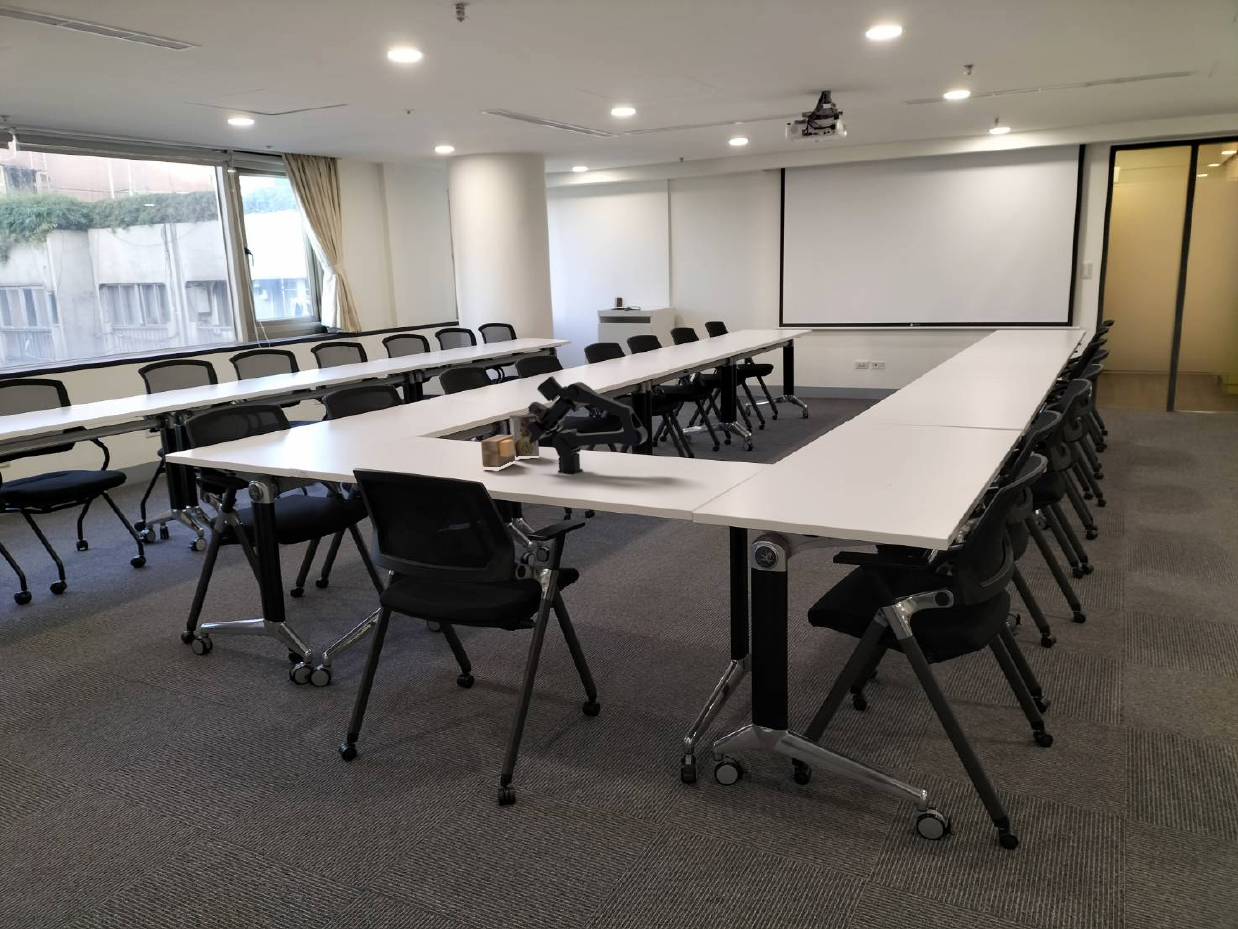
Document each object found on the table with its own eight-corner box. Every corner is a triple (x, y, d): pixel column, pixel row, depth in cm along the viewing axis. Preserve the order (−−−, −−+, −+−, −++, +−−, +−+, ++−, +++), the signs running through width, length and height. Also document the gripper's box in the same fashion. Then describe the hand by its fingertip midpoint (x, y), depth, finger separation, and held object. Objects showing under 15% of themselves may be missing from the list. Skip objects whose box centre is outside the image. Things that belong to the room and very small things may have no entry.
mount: (517, 464, 314) (516, 435, 312) (501, 471, 302) (499, 441, 300) (500, 463, 317) (498, 434, 315) (483, 470, 305) (481, 441, 303)
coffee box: (535, 455, 330) (532, 413, 327) (539, 458, 324) (537, 415, 321) (511, 458, 327) (508, 415, 324) (515, 460, 321) (512, 417, 318)
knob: (514, 453, 307) (513, 439, 306) (507, 456, 302) (506, 442, 301) (495, 453, 309) (495, 439, 308) (489, 456, 305) (488, 441, 304)
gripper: (553, 390, 304) (526, 421, 310) (530, 397, 287) (501, 429, 293) (575, 413, 303) (547, 444, 309) (553, 422, 286) (524, 453, 292)
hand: (530, 442), depth 301 cm, fingers closed
